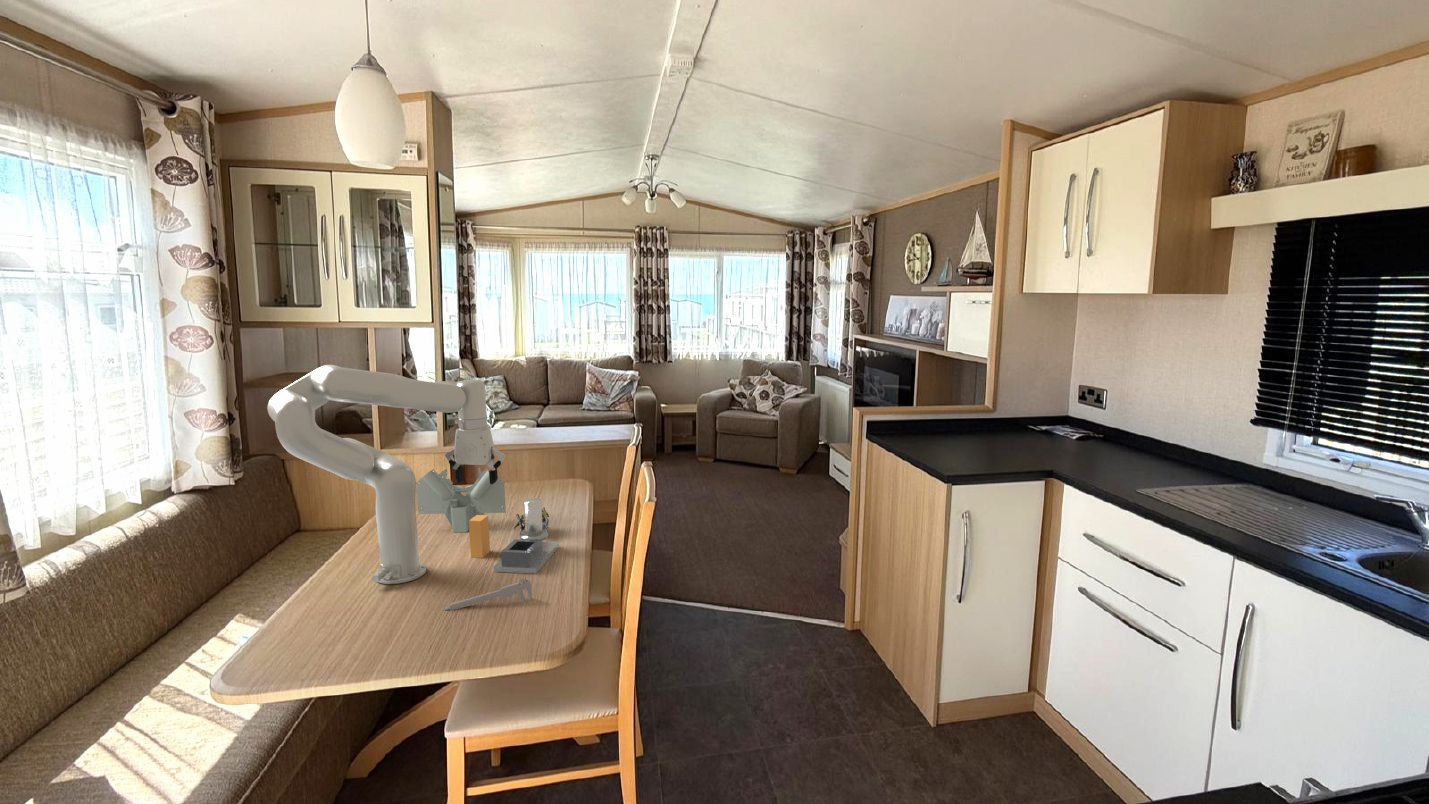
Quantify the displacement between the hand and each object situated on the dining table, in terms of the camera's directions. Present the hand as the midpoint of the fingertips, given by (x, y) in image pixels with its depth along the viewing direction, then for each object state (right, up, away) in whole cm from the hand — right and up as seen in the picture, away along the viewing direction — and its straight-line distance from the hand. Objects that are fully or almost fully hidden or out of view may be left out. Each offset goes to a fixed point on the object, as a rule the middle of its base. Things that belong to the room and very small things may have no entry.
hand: (477, 482), depth 191 cm
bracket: (-13, -18, +25) cm, 33 cm away
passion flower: (+10, -19, +19) cm, 29 cm away
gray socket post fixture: (+15, -22, 0) cm, 26 cm away
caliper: (+13, -27, -28) cm, 41 cm away
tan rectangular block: (0, -21, +3) cm, 22 cm away
